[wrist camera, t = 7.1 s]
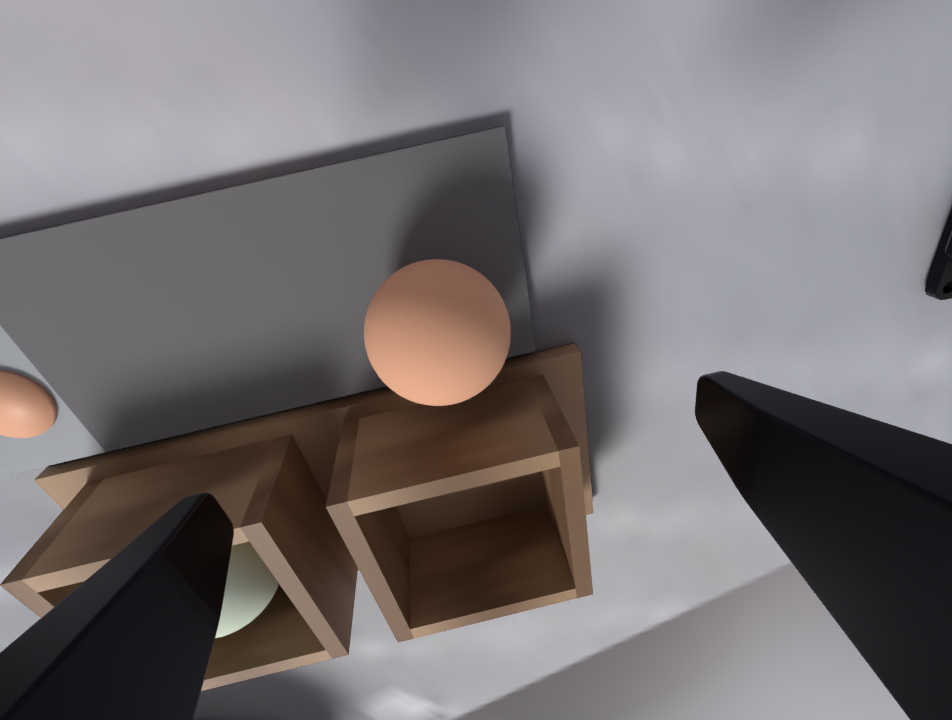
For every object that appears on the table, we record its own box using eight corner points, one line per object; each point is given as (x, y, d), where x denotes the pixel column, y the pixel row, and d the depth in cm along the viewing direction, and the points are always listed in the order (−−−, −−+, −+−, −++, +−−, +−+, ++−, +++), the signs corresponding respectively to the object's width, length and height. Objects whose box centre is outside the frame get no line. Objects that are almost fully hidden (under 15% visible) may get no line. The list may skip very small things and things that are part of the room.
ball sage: (267, 475, 16) (232, 574, 13) (308, 544, 18) (288, 645, 15) (157, 503, 16) (93, 611, 13) (211, 569, 18) (169, 678, 15)
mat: (502, 125, 12) (505, 126, 12) (533, 345, 16) (536, 351, 15) (-47, 248, 12) (-60, 253, 11) (112, 444, 15) (105, 452, 15)
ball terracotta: (484, 228, 13) (513, 272, 10) (505, 345, 15) (534, 415, 12) (351, 258, 13) (331, 314, 10) (390, 372, 15) (385, 451, 12)
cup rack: (575, 343, 16) (627, 417, 12) (588, 502, 20) (630, 594, 16) (46, 467, 16) (-71, 584, 12) (174, 603, 20) (119, 720, 16)
